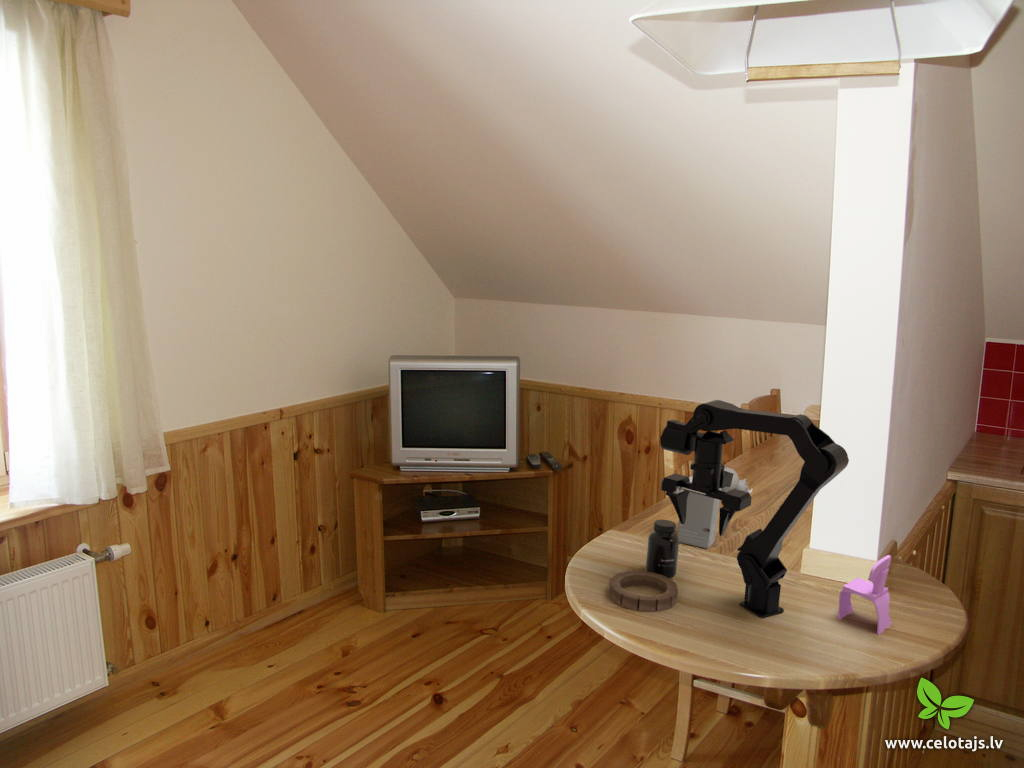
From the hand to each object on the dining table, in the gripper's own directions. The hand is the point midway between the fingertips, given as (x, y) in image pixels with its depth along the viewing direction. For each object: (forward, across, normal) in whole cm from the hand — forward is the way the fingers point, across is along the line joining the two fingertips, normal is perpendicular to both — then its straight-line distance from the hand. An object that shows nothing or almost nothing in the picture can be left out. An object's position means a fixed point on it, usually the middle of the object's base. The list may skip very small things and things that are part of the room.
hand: (701, 529), depth 177 cm
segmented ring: (+13, +6, +13) cm, 19 cm away
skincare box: (+13, +13, -23) cm, 29 cm away
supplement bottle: (+13, +9, 0) cm, 16 cm away
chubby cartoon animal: (+13, +23, -61) cm, 66 cm away
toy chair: (+13, -32, -10) cm, 36 cm away
